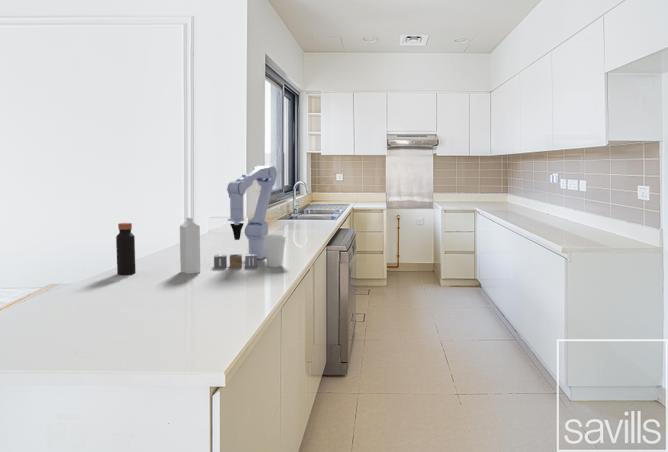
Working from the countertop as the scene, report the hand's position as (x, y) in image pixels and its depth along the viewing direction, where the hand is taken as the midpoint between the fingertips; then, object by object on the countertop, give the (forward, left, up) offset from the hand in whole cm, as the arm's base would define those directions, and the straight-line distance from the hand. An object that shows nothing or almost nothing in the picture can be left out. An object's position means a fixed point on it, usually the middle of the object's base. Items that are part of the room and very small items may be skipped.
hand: (237, 239), depth 249 cm
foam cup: (+1, +18, -11) cm, 21 cm away
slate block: (+6, +9, -10) cm, 15 cm away
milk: (+26, -8, -11) cm, 29 cm away
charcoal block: (+11, -2, -10) cm, 16 cm away
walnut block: (+9, +4, -10) cm, 14 cm away
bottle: (+37, -30, -11) cm, 49 cm away
